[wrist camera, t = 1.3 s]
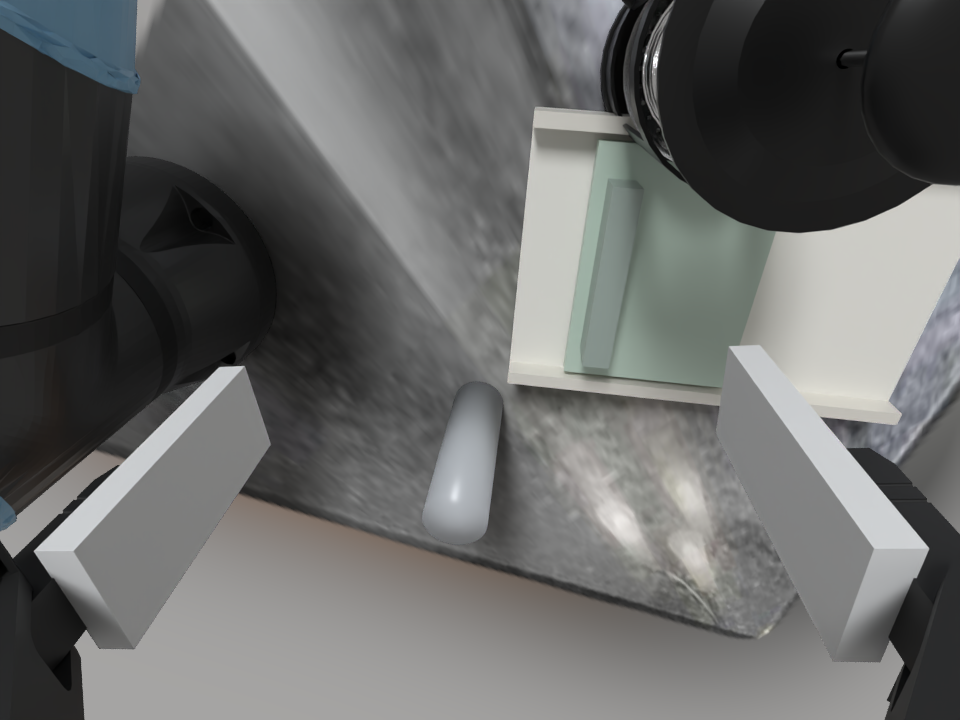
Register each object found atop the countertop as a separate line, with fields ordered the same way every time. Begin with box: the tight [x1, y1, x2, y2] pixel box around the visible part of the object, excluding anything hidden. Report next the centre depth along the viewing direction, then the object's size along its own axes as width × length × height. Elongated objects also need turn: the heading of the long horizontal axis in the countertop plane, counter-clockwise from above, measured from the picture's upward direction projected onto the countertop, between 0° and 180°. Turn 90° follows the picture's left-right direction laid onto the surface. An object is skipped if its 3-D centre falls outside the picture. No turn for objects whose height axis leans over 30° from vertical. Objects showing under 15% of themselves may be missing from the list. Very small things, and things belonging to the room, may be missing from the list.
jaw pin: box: [422, 382, 503, 545], centre depth 35 cm, size 4×4×12 cm
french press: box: [600, 0, 960, 233], centre depth 18 cm, size 12×9×23 cm
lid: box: [563, 139, 776, 388], centre depth 30 cm, size 10×14×4 cm
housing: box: [507, 107, 960, 425], centre depth 32 cm, size 24×16×4 cm, turn 87°
